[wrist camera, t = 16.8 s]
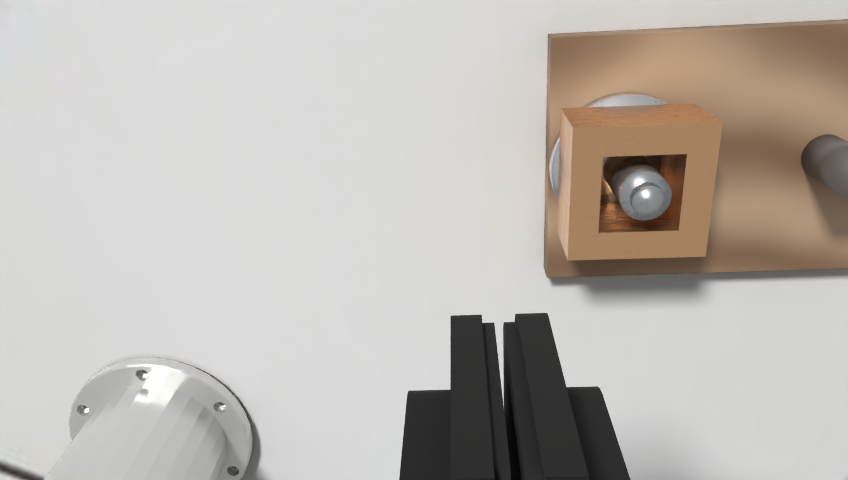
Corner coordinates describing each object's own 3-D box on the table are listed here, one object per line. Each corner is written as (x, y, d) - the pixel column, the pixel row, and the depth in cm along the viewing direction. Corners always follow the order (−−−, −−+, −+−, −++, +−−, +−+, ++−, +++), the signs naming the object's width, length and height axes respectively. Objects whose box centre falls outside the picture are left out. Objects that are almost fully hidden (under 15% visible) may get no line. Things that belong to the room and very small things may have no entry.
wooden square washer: (681, 226, 39) (705, 256, 36) (556, 230, 40) (567, 260, 36) (695, 103, 36) (722, 122, 33) (560, 108, 37) (572, 127, 33)
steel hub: (687, 226, 40) (726, 275, 35) (547, 231, 41) (563, 280, 35) (701, 88, 37) (747, 117, 31) (550, 95, 38) (568, 124, 32)
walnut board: (858, 256, 42) (919, 305, 37) (543, 266, 43) (557, 315, 38) (911, 16, 37) (992, 31, 31) (548, 34, 38) (564, 51, 32)
